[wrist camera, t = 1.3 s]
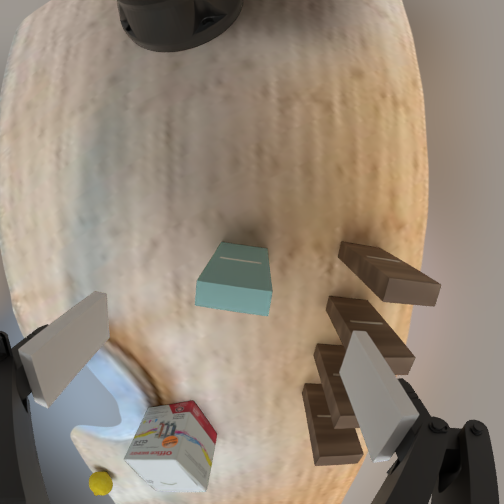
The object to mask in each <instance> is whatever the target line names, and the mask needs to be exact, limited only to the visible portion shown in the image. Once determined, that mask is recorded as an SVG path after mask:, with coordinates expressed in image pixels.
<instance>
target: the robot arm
mask: <svg viewBox="0 0 504 504" xmlns="http://www.w3.org/2000/svg"><path fill="white" fill-rule="evenodd" d="M117 5H118V10H119V16H120V21H121V24H122V27H123V29H124V31H125V32H126V34H127V35H128V36H129V37H130V38H131V39H132V40H133V41H134V42H135V43H136V44H138V45H139V46H141V47H143V48H145V49H148V50H152V51H159V52H173V51H180V50H185V49H189V48H193V47H196V46H198V45H201V44H203V43H206V42H208V41H210V40H211V39H213V38H215V37H217V36H218V35H220V34H221V33H222V32H224V31H225V30H226V29H227V28H228V27H229V26H230V25H231V24H232V23H233V22H234V21H235V20H236V18H237V17H238V15H239V13H240V11H241V8H242V5H243V0H117ZM109 338H110V335H109V323H108V308H107V294H106V293H102V292H98V291H94V292H93V293H92V294H90V295H89V296H87V297H86V298H85V299H83V300H82V301H81V302H79V303H78V304H76V305H75V306H74V307H72V308H71V309H70V310H68V311H67V312H66V313H64V314H63V315H62V316H60V317H59V318H58V319H56V320H55V321H54V322H52V323H51V324H50V325H48V324H47V325H44V326H42V327H39V328H37V329H36V330H35V331H33V332H32V334H30V335H28V336H27V338H24V339H23V340H22V341H21V342H19V343H18V344H17V345H15V346H14V347H13V348H12V349H11V346H10V342H9V339H8V335H7V334H6V333H5V332H2V331H0V504H50V501H49V498H48V495H47V492H46V488H45V485H44V481H43V477H42V474H41V469H40V466H39V461H38V456H37V451H36V446H35V440H34V434H33V428H32V421H31V412H30V403H29V400H28V397H27V396H28V395H29V394H30V393H31V392H32V394H33V397H34V400H35V402H36V403H39V404H40V405H42V406H44V407H46V408H49V407H50V406H51V405H52V404H53V402H54V401H55V400H56V399H57V397H58V396H59V395H60V394H61V393H62V392H63V390H64V389H65V388H66V387H67V385H68V384H69V383H70V382H71V381H72V380H73V379H74V377H75V376H76V375H77V374H78V373H79V372H80V370H81V369H82V368H83V367H84V366H85V365H86V364H87V362H88V361H89V360H90V359H91V358H92V357H93V356H94V354H95V353H96V352H97V351H98V350H99V349H100V348H101V347H102V345H103V344H104V343H105V342H106V341H107V340H108V339H109ZM339 373H340V376H341V378H342V381H343V384H344V386H345V389H346V391H347V394H348V397H349V399H350V402H351V405H352V407H353V410H354V413H355V415H356V418H357V421H358V423H359V426H360V429H361V432H362V434H363V437H364V440H365V443H366V445H367V448H368V451H369V454H370V457H371V459H372V462H373V463H374V462H381V461H388V460H389V459H390V458H391V457H392V455H393V454H394V452H396V454H397V457H398V459H397V460H396V461H395V463H394V464H393V465H392V467H391V468H390V469H389V470H388V472H387V473H388V476H387V478H386V480H385V481H384V483H383V485H382V486H381V488H380V490H379V491H378V493H377V495H376V496H375V498H374V500H373V501H372V503H371V504H428V502H429V500H430V497H431V494H432V499H431V504H499V495H498V485H497V476H496V469H495V462H494V456H493V451H492V446H491V441H490V436H489V432H488V429H487V427H486V426H485V425H484V424H483V423H482V422H480V421H477V420H469V421H467V422H466V424H465V425H464V427H463V428H462V429H459V428H450V427H449V426H448V424H447V423H446V422H445V421H444V420H442V419H440V418H437V417H431V416H430V414H429V413H428V411H427V409H426V408H425V406H424V405H423V403H422V402H421V400H420V399H418V396H417V394H416V393H415V391H414V389H413V388H412V386H411V385H410V384H409V383H408V382H406V381H405V380H404V379H403V378H401V379H397V378H396V376H395V374H394V373H393V371H392V370H391V368H390V367H389V365H388V364H387V362H386V361H385V359H384V358H383V356H382V354H381V353H380V351H379V350H378V348H377V347H376V345H375V344H374V342H373V341H372V339H371V338H370V336H369V335H368V334H367V332H366V331H353V333H352V336H351V339H350V342H349V345H348V348H347V351H346V354H345V357H344V360H343V363H342V366H341V369H340V372H339Z"/></svg>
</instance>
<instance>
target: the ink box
mask: <svg viewBox="0 0 504 504" xmlns="http://www.w3.org/2000/svg"><path fill="white" fill-rule="evenodd" d="M216 438H217V433H216V432H215V430H214V429H213V427H212V426H211V424H210V423H209V422H208V420H207V419H206V417H205V416H204V415H203V413H202V412H201V410H200V409H199V407H198V406H197V405H196V404H195V402H194V401H188V402H182V403H176V404H170V405H163V406H157V407H149V408H148V409H147V411H146V414H145V416H144V418H143V420H142V422H141V424H140V426H139V428H138V430H137V432H136V434H135V437H134V439H133V441H132V443H131V445H130V447H129V449H128V451H127V453H126V456H125V458H124V461H125V462H126V463H127V464H128V465H129V466H130V467H131V468H132V469H133V470H134V471H135V472H136V473H137V474H138V475H139V476H140V477H141V478H142V479H143V480H144V481H145V482H146V483H148V484H149V485H150V486H151V487H152V488H153V489H154V490H155V491H166V492H206V490H207V487H208V482H209V476H210V471H211V466H212V460H213V455H214V450H215V444H216Z"/></svg>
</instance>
